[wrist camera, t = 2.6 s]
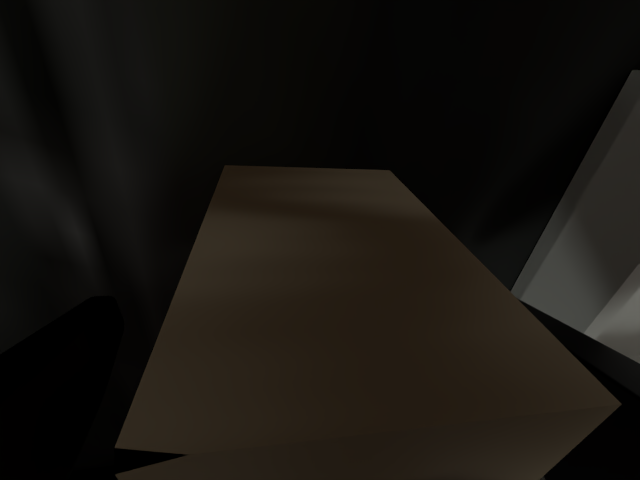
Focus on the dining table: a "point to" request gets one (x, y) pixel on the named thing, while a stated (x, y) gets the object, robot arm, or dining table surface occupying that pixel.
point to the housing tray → (596, 238)
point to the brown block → (348, 347)
